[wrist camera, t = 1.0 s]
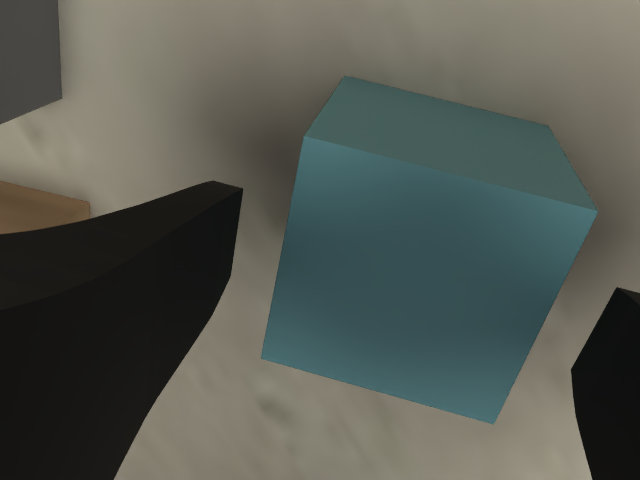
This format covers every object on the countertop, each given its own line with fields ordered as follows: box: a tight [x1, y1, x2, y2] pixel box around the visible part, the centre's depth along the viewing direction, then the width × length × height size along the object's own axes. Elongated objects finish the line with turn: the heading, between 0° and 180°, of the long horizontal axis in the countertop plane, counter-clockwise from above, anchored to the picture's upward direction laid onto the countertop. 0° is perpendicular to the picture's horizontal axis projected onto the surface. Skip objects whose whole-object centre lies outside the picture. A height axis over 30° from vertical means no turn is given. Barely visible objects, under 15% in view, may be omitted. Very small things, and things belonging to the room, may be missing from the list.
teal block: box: [261, 76, 598, 424], centre depth 13 cm, size 5×5×5 cm
